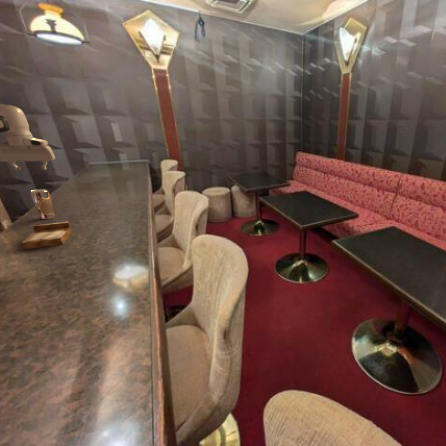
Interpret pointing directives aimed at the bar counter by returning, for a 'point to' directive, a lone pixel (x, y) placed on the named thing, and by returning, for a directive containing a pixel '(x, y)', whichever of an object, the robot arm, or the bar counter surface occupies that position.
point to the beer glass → (43, 203)
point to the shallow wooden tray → (48, 235)
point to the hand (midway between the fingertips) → (31, 170)
